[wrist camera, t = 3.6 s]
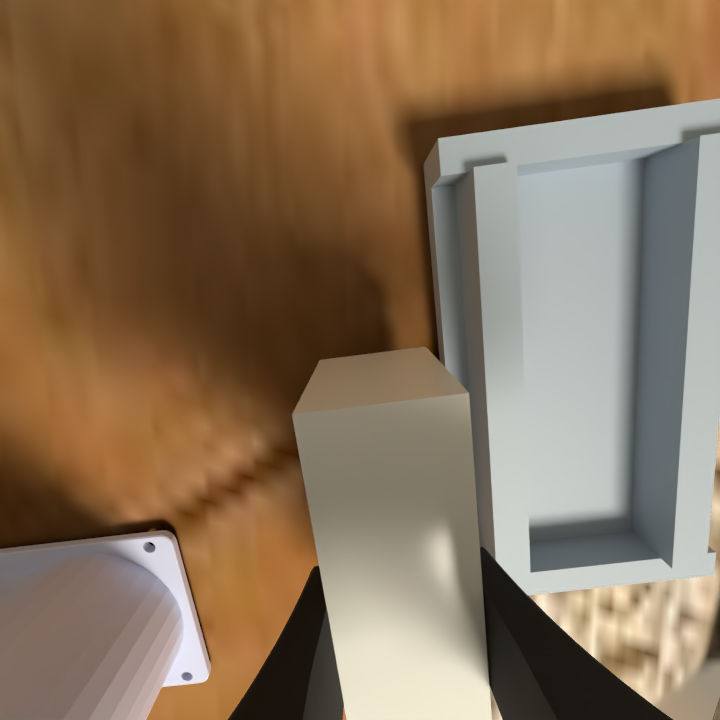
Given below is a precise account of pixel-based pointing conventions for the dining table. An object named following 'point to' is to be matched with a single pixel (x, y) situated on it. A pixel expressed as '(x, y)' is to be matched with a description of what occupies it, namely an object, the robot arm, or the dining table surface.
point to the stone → (717, 712)
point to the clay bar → (397, 534)
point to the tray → (586, 338)
